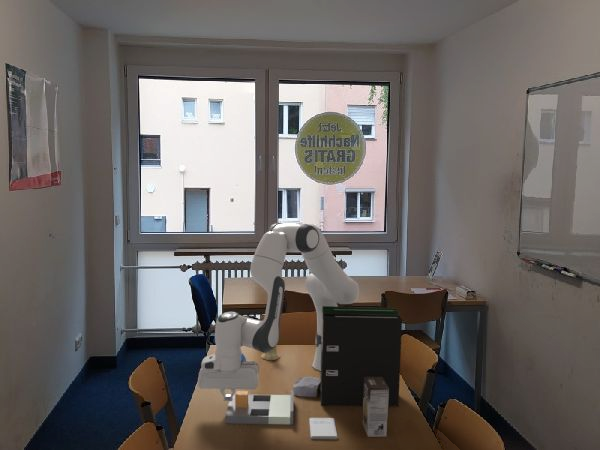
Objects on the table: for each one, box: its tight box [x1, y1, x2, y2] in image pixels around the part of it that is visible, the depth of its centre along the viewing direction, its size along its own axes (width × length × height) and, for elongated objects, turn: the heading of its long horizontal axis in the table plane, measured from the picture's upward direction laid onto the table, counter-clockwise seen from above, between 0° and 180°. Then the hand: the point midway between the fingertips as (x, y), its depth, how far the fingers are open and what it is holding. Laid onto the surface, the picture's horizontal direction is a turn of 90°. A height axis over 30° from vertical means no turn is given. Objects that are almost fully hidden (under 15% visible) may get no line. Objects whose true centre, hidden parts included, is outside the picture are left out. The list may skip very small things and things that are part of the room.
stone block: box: [292, 376, 320, 398], centre depth 210 cm, size 12×5×10 cm
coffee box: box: [362, 377, 389, 438], centre depth 179 cm, size 9×6×16 cm
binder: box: [319, 306, 403, 407], centre depth 202 cm, size 27×15×32 cm, turn 89°
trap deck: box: [224, 389, 294, 425], centre depth 191 cm, size 22×17×4 cm
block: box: [235, 390, 249, 408], centre depth 191 cm, size 4×4×4 cm
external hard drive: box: [308, 417, 338, 440], centre depth 180 cm, size 2×8×12 cm
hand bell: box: [260, 346, 281, 361], centre depth 244 cm, size 8×8×16 cm
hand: (228, 400), depth 191 cm, fingers closed
